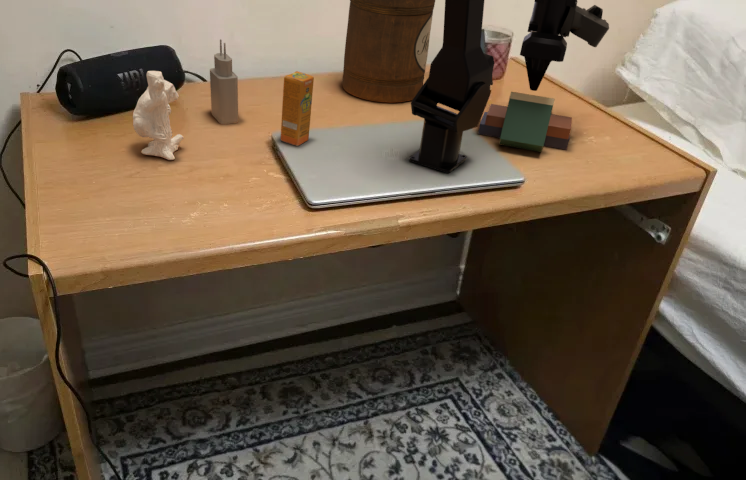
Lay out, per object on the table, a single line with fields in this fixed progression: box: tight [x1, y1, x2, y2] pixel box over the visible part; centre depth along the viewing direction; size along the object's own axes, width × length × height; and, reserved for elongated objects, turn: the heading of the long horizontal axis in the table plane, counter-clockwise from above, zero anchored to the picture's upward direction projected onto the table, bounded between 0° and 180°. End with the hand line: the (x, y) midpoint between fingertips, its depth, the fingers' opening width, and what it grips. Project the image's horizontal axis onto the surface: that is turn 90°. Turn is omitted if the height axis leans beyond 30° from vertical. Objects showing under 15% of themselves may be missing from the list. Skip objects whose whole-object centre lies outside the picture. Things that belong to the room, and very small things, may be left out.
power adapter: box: [209, 38, 239, 125], centre depth 103 cm, size 3×5×12 cm, turn 26°
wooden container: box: [341, 0, 436, 104], centre depth 116 cm, size 15×15×22 cm
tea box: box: [498, 91, 556, 153], centre depth 102 cm, size 7×6×8 cm
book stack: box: [477, 103, 573, 151], centre depth 107 cm, size 6×14×4 cm, turn 72°
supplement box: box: [280, 70, 315, 147], centre depth 97 cm, size 3×3×10 cm
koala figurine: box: [132, 70, 184, 161], centre depth 90 cm, size 8×7×12 cm
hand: (533, 89), depth 107 cm, fingers closed
